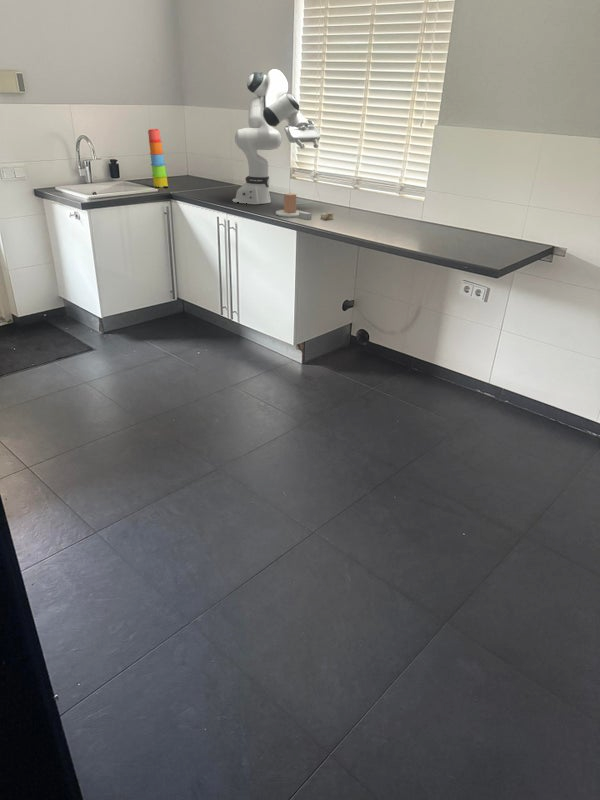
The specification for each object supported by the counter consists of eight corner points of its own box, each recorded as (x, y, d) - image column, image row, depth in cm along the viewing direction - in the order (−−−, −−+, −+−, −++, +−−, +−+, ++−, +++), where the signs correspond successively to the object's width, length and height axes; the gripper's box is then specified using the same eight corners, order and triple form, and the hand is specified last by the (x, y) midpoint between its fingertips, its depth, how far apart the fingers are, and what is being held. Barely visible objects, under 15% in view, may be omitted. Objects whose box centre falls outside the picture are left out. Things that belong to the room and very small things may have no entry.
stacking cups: (166, 188, 366) (161, 129, 350) (151, 188, 366) (145, 129, 350) (170, 186, 375) (166, 128, 359) (155, 186, 375) (150, 128, 359)
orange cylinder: (283, 211, 297) (284, 193, 293) (290, 211, 300) (290, 193, 295) (289, 213, 294) (289, 195, 290) (295, 212, 297) (296, 194, 292)
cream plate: (272, 216, 293) (272, 213, 292) (280, 211, 305) (280, 208, 305) (300, 218, 290) (300, 215, 289) (306, 213, 302) (306, 210, 302)
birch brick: (324, 220, 286) (324, 214, 285) (320, 219, 288) (320, 213, 287) (333, 219, 290) (333, 213, 288) (329, 218, 292) (329, 212, 290)
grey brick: (298, 218, 291) (299, 212, 289) (303, 217, 292) (303, 211, 291) (307, 220, 287) (307, 213, 285) (311, 219, 289) (311, 213, 287)
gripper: (285, 121, 291) (297, 143, 289) (315, 121, 302) (327, 142, 301) (280, 130, 296) (291, 152, 294) (309, 130, 307) (321, 151, 306)
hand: (309, 147), depth 297 cm, fingers open, 8 cm apart
